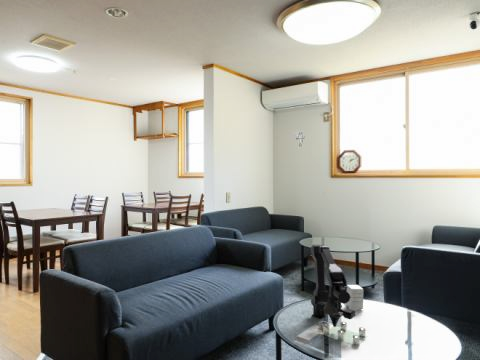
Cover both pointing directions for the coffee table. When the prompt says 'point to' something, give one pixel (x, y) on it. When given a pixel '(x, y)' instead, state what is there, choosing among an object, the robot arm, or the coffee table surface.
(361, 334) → the spacer field
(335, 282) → the robot arm
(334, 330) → the mat
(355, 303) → the supplement box
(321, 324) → the gear
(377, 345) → the coffee table surface
